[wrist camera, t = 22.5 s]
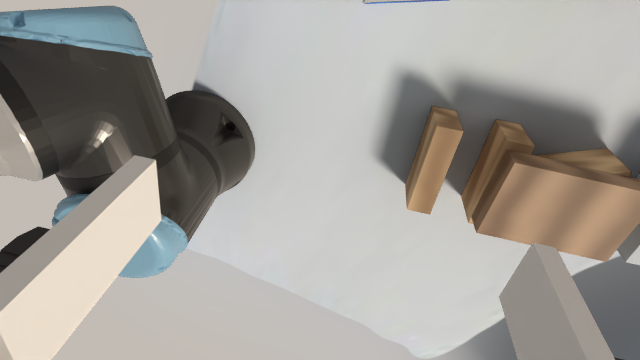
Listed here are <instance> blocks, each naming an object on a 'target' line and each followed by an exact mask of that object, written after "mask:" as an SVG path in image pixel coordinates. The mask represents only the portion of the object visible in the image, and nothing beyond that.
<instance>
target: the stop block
mask: <svg viewBox="0 0 640 360" xmlns="http://www.w3.org/2000/svg"><path fill="white" fill-rule="evenodd" d="M636 179H640V173H639V174H638V175H637V177H636ZM617 251H618V252H619V254H620V255H621V256H622V258H623V259H624V260H625V262H628V263H633V264H637V265H640V223H639V224H638V225H637V226H636V228H635V229H634V230H633V231H632V232H631V233H630V235H629V236H628V237H627V238H626V239H625V241H624V242H623V243H622V244H621V245H620V246H619V248H618V249H617Z"/></svg>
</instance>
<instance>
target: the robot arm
mask: <svg viewBox="0 0 640 360" xmlns="http://www.w3.org/2000/svg"><path fill="white" fill-rule="evenodd" d="M151 58H152V54H151V53H150V52H149V51H148V50H147V47H146V45H145V42H144V40H143V38H142V35H141V33H140V30H139V28H138V26H137V23H136V21H135V19H134V18H133V17H132V16H131V14H129V13H128V12H127V11H125V10H124V9H122V8H119V7H116V6H99V7H79V8H63V9H62V8H61V9H44V10H28V11H27V10H26V11H8V12H0V176H7V175H8V176H14V177H18V178H22V179H27V180H31V181H39V180H42V179H44V178H46V177H49V176H51V175H53V174H56V176H57V178H58V180H59V181H60V183H61V185H62V187H63V188H64V190H65V192H66V194H67V198H65V199H63V200H62V201H61V202H60V203H59V204H58V205H57V209H56V210H55V212H54V217H53V219H52V225H53V227H52V228H51V229H46V228H42V227H36V228H34V229H32V230H30V231H28V232H26V233H24V234H22V235H20V236H18V237H17V238H15V239H14V240H13V241H11V242H10V243H9V244H8V245H6V246H5V247H4V248H3V249H2V250H1V252H0V360H51V359H52V358H53V357H54V356H55V354H56V353H57V352H58V351H59V349H60V348H61V347H62V345H63V344H64V343H65V342H66V340H67V339H68V338H69V337H70V335H71V334H72V333H73V332H74V330H75V329H76V328H77V327H78V325H79V324H80V323H81V321H82V320H83V319H84V318H85V316H86V315H87V314H88V312H89V311H90V310H91V309H92V308H93V306H94V305H95V304H96V302H97V301H98V300H99V299H100V297H101V296H102V295H103V294H104V292H105V291H106V290H107V288H108V287H109V286H110V285H111V283H112V282H113V281H114V280H115V278H116V277H117V276H122V277H130V278H143V277H150V276H154V275H157V274H159V273H161V272H163V271H164V270H166V269H167V268H168V267H169V266H170V265H171V264H172V263H173V262H174V260H175V259H176V257H177V256H178V255H179V254H180V253H181V252H182V251H183V250H184V249H185V248H186V247H187V244H188V242H189V241H190V239H191V237H192V236H193V234H194V232H195V231H196V229H197V228H198V226H199V224H200V223H201V221H202V220H203V218H204V216H205V215H206V213H207V212H208V210H209V208H210V207H211V205H212V203H213V202H214V200H215V199H216V197H217V196H218V195H220V194H222V193H223V192H225V191H226V190H229V189H231V188H232V187H234V186H236V185H237V184H238V183H239V182H240V181H241V180H242V179H243V178H244V177H245V175H246V174H247V172H248V170H249V169H250V167H251V165H252V163H253V159H254V155H255V144H254V138H253V135H252V132H251V130H250V128H249V126H248V124H247V122H246V121H245V119H244V118H243V116H242V115H241V114H240V113H239V112H238V111H237V110H236V109H235V108H234V107H233V106H232V105H230V104H229V103H228V102H226V101H225V100H223V99H221V98H219V97H217V96H215V95H212V94H209V93H206V92H201V91H183V92H179V93H176V94H174V95H172V96H170V97H168V98H167V99H165V96H164V93H163V91H162V88H161V85H160V82H159V79H158V76H157V73H156V70H155V68H154V65H153V62H152V59H151ZM499 298H500V301H501V305H502V308H503V311H504V315H505V318H506V321H507V325H508V328H509V331H510V335H511V337H512V341H513V344H514V347H515V351H516V354H517V358H518V360H622V359H618V358H614V357H613V355H612V353H611V351H610V349H609V347H608V345H607V344H606V342H605V340H604V338H603V336H602V334H601V332H600V331H599V328H598V326H597V325H596V323H595V321H594V319H593V317H592V315H591V313H590V311H589V310H588V307H587V306H586V304H585V302H584V300H583V298H582V296H581V294H580V293H579V290H578V289H577V287H576V285H575V283H574V281H573V279H572V277H571V275H570V273H569V271H568V270H567V268H566V266H565V264H564V262H563V260H562V258H561V256H560V254H559V253H558V251H557V249H556V248H555V247H551V246H546V245H541V244H537V243H532V245H531V247H530V248H529V250H528V251H527V253H526V255H525V256H524V258H523V259H522V261H521V263H520V264H519V266H518V267H517V269H516V270H515V272H514V274H513V275H512V277H511V278H510V280H509V282H508V283H507V285H506V286H505V288H504V289H503V291H502V293H501V294H500V296H499Z"/></svg>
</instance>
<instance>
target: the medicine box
mask: <svg viewBox="0 0 640 360" xmlns="http://www.w3.org/2000/svg"><path fill="white" fill-rule="evenodd" d="M423 1H448V0H363V3H364V4H375V3H399V2H423Z"/></svg>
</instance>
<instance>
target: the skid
mask: <svg viewBox="0 0 640 360" xmlns="http://www.w3.org/2000/svg"><path fill="white" fill-rule="evenodd" d="M534 156H538V157H543V158H547V159H552V160H556V161H561V162H565V163H570V164H574V165H579V166H583V167H587V168H592V169H596V170H601V171H605V172H610V173H614V174H619V175H623V176H627V177H630V176H631V171H630V170H629V169H628V168H627V167H626V166H625V165H624V164H623V163H622V162H621V161H620V160H619V159H618V158H617V157H616V156H615V155H614V154H613V153H612V152H611V151H610V150H609V149H608V148H604V149H594V150H584V151H574V152H564V153H554V154H544V155H534Z"/></svg>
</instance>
